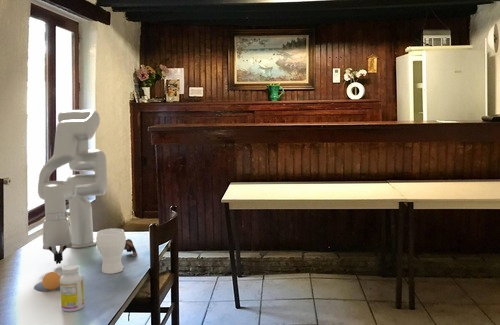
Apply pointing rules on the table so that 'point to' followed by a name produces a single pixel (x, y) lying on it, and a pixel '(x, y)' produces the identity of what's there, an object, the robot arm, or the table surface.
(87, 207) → the robot arm
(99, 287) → the table surface
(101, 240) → the cup
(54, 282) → the ball
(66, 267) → the supplement bottle
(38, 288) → the disc
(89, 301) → the table surface
